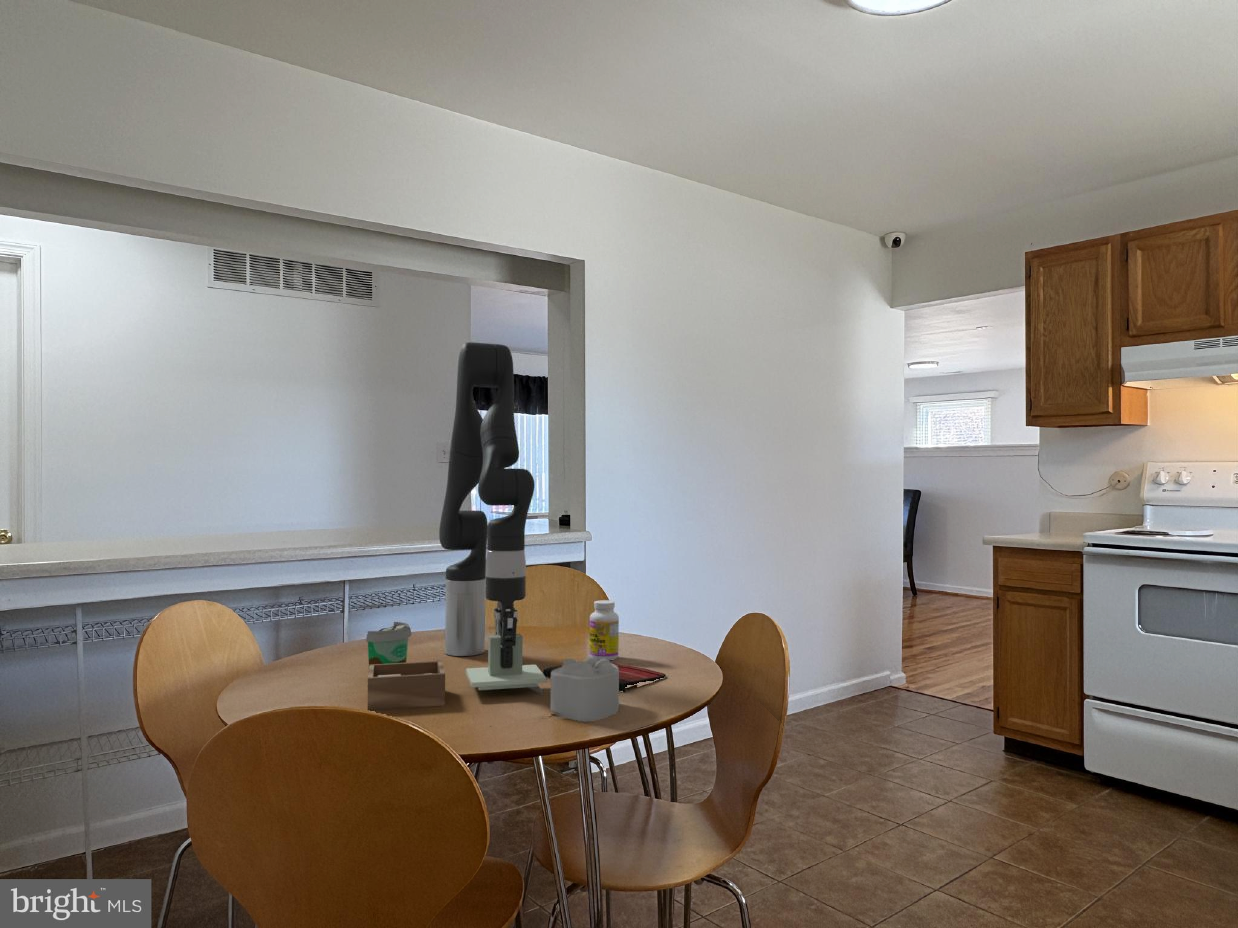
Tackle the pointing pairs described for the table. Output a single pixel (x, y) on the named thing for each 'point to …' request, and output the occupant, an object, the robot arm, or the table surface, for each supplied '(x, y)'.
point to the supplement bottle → (604, 631)
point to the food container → (388, 644)
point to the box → (406, 685)
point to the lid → (504, 677)
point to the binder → (625, 675)
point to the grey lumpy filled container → (585, 689)
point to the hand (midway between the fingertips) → (505, 665)
